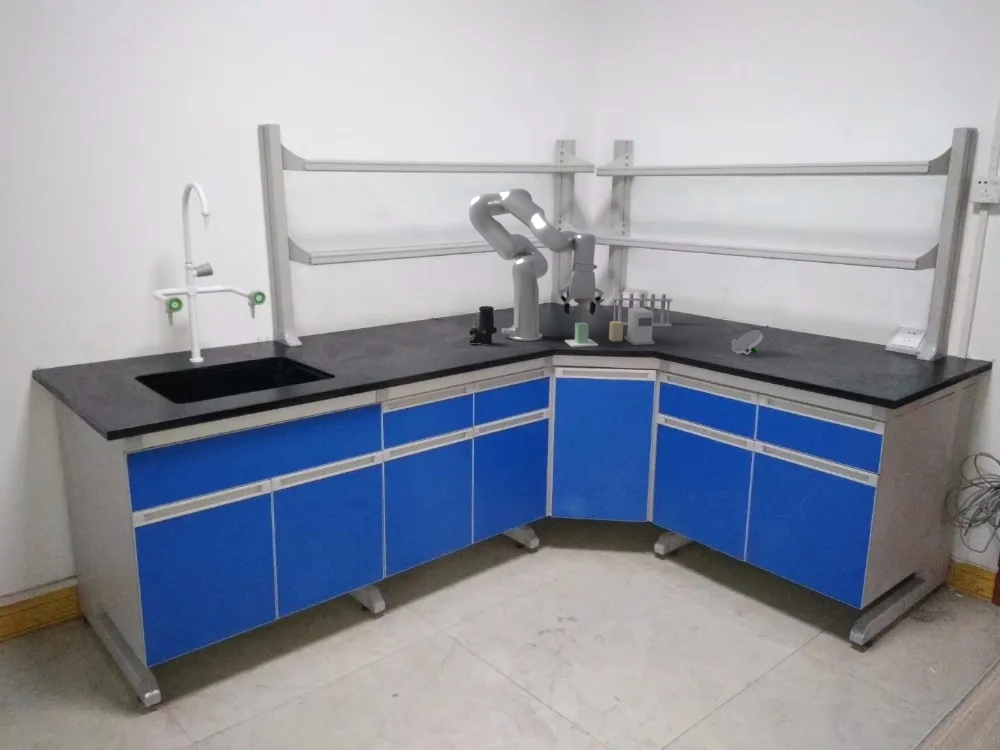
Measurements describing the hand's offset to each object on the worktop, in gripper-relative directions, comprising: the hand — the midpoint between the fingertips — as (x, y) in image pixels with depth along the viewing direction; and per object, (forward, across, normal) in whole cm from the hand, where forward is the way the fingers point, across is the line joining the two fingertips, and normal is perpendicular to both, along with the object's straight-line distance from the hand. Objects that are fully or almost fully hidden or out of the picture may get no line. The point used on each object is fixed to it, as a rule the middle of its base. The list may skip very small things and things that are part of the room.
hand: (579, 313), depth 288 cm
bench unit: (+10, -24, +1) cm, 27 cm away
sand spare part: (+11, -16, -3) cm, 20 cm away
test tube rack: (+11, -37, -30) cm, 49 cm away
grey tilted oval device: (+9, -55, +26) cm, 62 cm away
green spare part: (+11, -1, +1) cm, 11 cm away
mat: (+11, -1, +1) cm, 11 cm away
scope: (+13, +35, -6) cm, 38 cm away
